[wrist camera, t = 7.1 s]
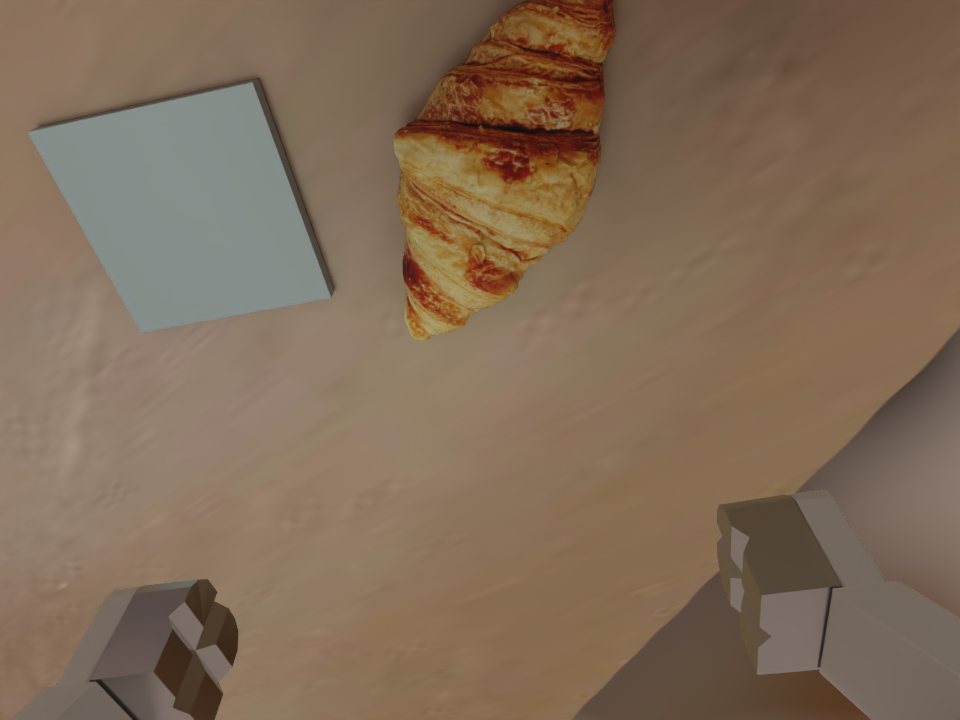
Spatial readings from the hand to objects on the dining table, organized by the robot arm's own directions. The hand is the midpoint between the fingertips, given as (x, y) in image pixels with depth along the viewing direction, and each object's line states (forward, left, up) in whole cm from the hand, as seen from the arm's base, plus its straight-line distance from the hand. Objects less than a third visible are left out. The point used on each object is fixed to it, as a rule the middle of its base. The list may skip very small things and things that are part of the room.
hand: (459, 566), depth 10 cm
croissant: (0, +2, -28) cm, 28 cm away
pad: (+16, +2, -28) cm, 32 cm away
